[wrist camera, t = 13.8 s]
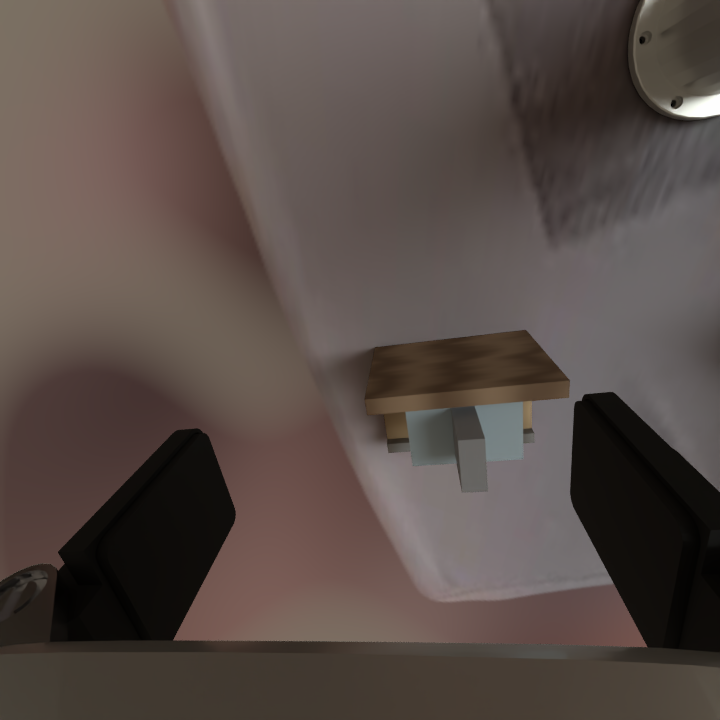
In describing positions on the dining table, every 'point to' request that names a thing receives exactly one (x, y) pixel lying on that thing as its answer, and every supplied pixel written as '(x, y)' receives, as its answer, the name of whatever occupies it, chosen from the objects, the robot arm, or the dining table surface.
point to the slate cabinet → (467, 439)
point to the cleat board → (460, 379)
